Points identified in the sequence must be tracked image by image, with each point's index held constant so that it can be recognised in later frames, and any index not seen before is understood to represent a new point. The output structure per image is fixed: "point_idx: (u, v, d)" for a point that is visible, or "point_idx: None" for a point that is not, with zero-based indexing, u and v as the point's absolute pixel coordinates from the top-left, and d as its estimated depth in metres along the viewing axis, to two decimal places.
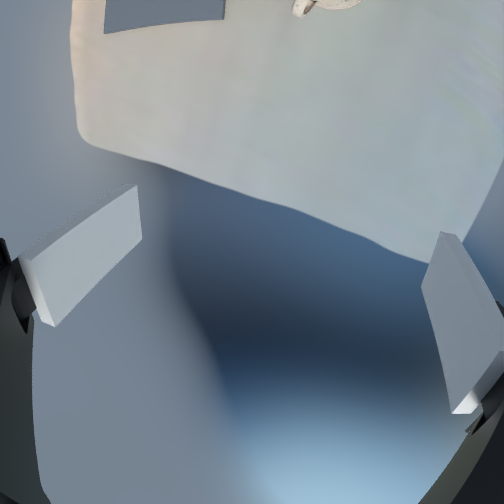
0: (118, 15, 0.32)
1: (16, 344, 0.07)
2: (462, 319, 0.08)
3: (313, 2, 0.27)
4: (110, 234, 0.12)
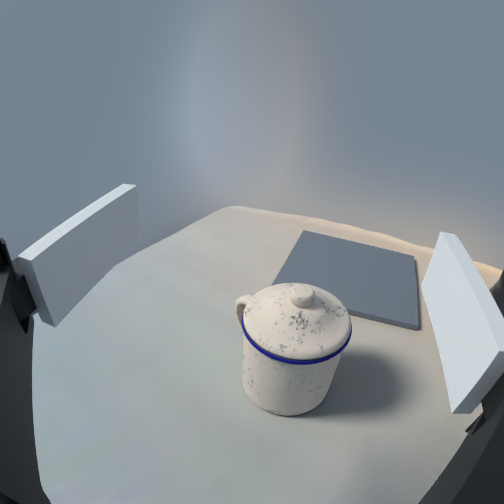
0: (313, 239, 0.53)
1: (16, 344, 0.07)
2: (462, 319, 0.08)
3: None
4: (110, 234, 0.12)
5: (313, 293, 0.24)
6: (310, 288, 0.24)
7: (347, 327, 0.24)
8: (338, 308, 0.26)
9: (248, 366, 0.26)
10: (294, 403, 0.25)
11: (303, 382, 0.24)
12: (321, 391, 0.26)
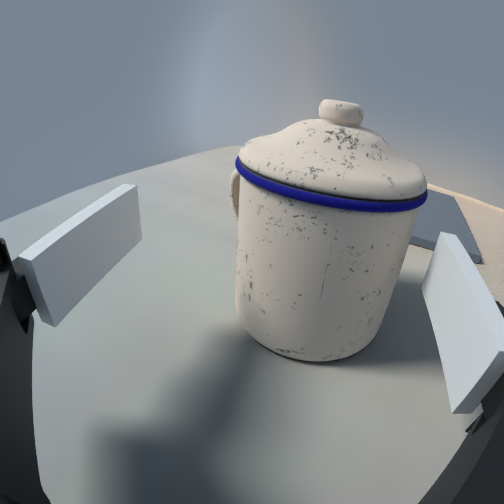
0: None
1: (16, 344, 0.07)
2: (462, 319, 0.08)
3: None
4: (110, 234, 0.12)
5: (360, 107, 0.13)
6: None
7: (421, 173, 0.13)
8: None
9: (244, 253, 0.15)
10: (331, 328, 0.14)
11: (353, 270, 0.12)
12: (378, 307, 0.14)
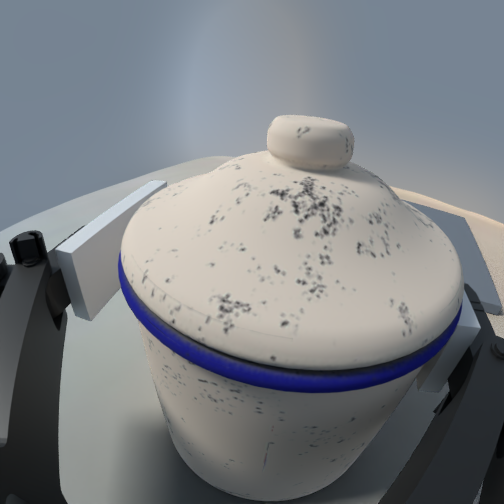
0: None
1: (47, 342, 0.07)
2: None
3: None
4: None
5: (349, 129, 0.07)
6: (336, 122, 0.07)
7: (456, 255, 0.07)
8: (414, 210, 0.08)
9: (153, 380, 0.09)
10: (286, 485, 0.08)
11: (316, 445, 0.06)
12: (360, 451, 0.08)
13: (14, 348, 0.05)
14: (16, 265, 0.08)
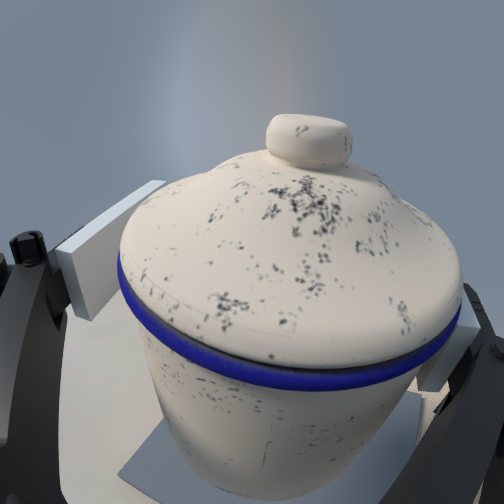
0: None
1: (47, 342, 0.07)
2: None
3: None
4: None
5: (347, 128, 0.07)
6: (335, 121, 0.07)
7: (455, 254, 0.07)
8: (413, 209, 0.08)
9: (152, 379, 0.09)
10: (285, 484, 0.08)
11: (315, 444, 0.06)
12: (359, 451, 0.08)
13: (14, 348, 0.05)
14: (16, 265, 0.08)
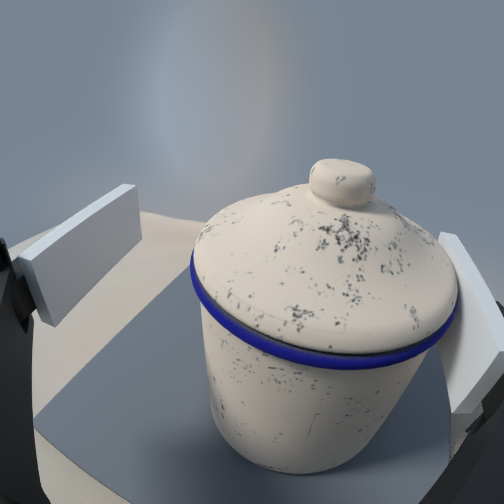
0: None
1: (16, 344, 0.07)
2: (462, 319, 0.08)
3: None
4: (110, 234, 0.12)
5: (372, 173, 0.09)
6: (362, 166, 0.09)
7: (451, 268, 0.09)
8: (419, 230, 0.10)
9: (211, 373, 0.11)
10: (321, 455, 0.10)
11: (350, 414, 0.08)
12: (379, 425, 0.10)
13: None
14: None
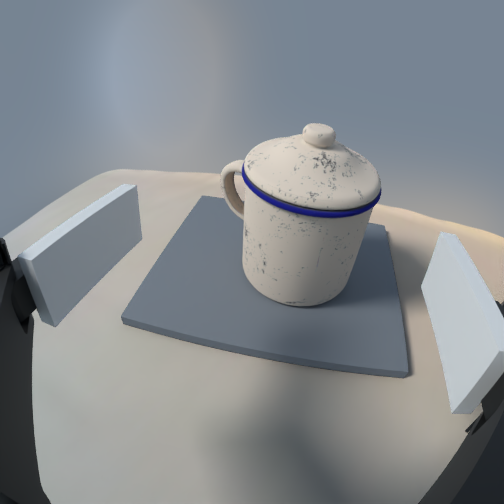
0: (216, 209, 0.33)
1: (16, 344, 0.07)
2: (462, 319, 0.08)
3: None
4: (110, 234, 0.12)
5: (333, 131, 0.18)
6: (328, 126, 0.18)
7: (376, 174, 0.19)
8: (358, 156, 0.20)
9: (257, 242, 0.21)
10: (323, 284, 0.21)
11: (337, 248, 0.19)
12: (351, 264, 0.22)
13: None
14: None
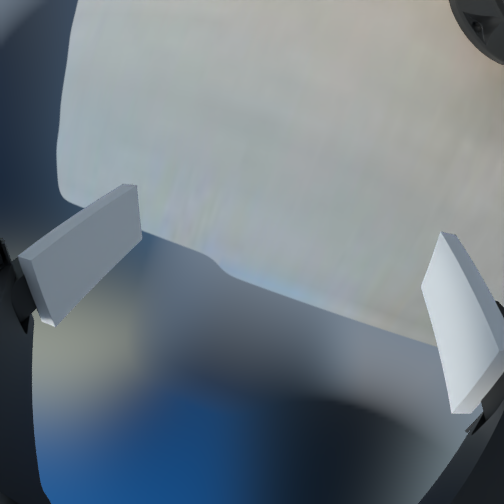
0: None
1: (16, 344, 0.07)
2: (462, 319, 0.08)
3: None
4: (110, 234, 0.12)
5: None
6: None
7: None
8: None
9: None
10: None
11: None
12: None
13: None
14: None
